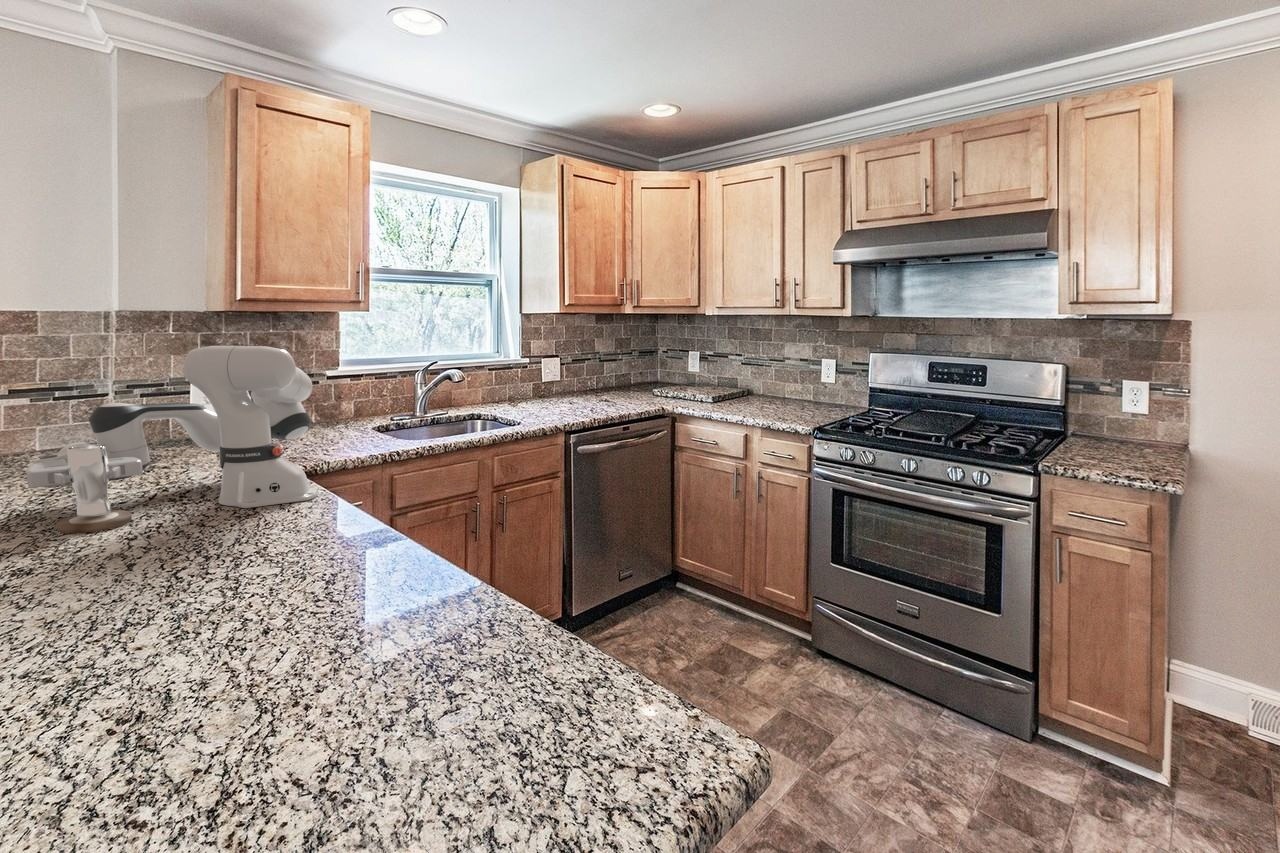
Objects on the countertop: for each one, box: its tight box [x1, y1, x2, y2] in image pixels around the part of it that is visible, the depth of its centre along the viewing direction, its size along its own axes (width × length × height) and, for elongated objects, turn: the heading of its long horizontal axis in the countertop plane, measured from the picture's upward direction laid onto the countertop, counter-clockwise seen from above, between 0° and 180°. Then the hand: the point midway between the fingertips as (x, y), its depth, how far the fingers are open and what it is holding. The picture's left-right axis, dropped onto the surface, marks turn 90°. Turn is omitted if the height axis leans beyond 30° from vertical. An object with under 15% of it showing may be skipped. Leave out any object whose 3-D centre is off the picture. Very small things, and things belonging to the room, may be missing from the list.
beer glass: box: [67, 443, 113, 517], centre depth 148 cm, size 7×7×15 cm
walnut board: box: [55, 509, 133, 535], centre depth 149 cm, size 13×13×2 cm
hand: (89, 477), depth 147 cm, fingers closed on beer glass, 6 cm apart
